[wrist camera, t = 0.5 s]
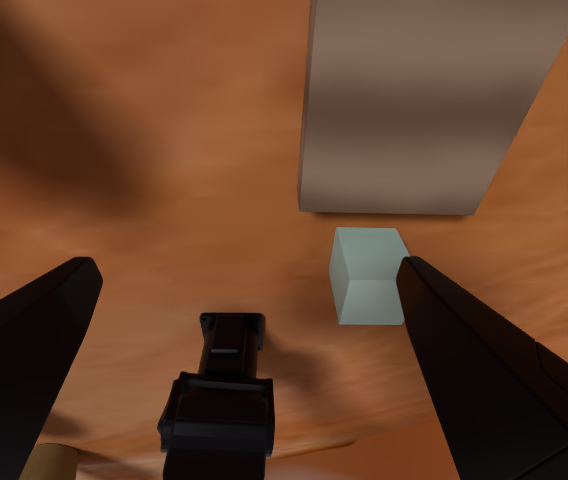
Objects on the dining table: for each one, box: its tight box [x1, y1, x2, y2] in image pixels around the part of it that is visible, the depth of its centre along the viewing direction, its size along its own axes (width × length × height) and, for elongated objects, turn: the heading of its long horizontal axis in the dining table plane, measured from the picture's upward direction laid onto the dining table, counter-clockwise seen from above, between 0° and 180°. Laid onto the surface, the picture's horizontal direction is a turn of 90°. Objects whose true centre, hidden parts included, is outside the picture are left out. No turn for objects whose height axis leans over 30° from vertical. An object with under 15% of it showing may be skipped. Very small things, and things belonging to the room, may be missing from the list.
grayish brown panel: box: [297, 0, 568, 215], centre depth 18 cm, size 12×12×3 cm
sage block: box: [329, 227, 410, 325], centre depth 24 cm, size 5×5×6 cm
